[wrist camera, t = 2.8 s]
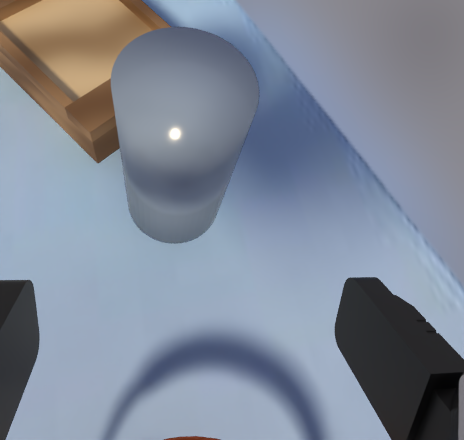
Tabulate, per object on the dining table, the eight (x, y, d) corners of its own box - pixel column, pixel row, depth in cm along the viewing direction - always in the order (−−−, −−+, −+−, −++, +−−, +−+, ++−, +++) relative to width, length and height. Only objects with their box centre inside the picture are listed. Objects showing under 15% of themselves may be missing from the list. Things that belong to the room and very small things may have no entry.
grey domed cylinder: (115, 230, 24) (88, 122, 14) (143, 151, 26) (136, 10, 16) (207, 253, 25) (244, 166, 15) (226, 174, 27) (270, 50, 17)
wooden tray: (-24, 43, 27) (-47, -3, 24) (84, -12, 30) (76, -59, 27) (97, 163, 25) (89, 132, 22) (197, 91, 29) (203, 55, 26)
